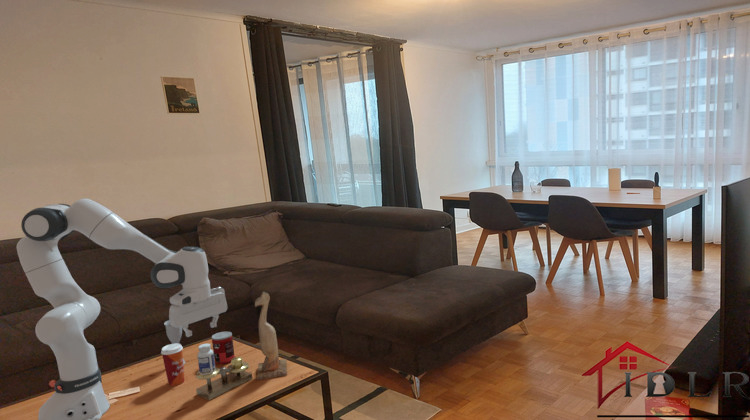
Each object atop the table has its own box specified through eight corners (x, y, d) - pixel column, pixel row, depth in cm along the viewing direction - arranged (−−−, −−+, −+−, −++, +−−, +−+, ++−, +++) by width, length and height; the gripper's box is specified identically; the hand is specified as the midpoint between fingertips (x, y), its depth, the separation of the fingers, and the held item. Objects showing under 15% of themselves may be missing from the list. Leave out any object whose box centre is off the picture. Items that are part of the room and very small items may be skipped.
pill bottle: (209, 367, 175) (205, 341, 174) (218, 370, 172) (215, 344, 171) (196, 373, 171) (192, 347, 169) (206, 376, 168) (202, 349, 166)
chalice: (169, 362, 202) (163, 321, 200) (187, 358, 205) (181, 317, 202) (170, 369, 195) (164, 326, 193) (188, 364, 198) (182, 322, 196)
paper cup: (179, 387, 179) (174, 351, 177) (161, 386, 181) (155, 351, 179) (191, 377, 187) (186, 342, 185) (173, 376, 188) (168, 342, 186)
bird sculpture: (256, 369, 190) (244, 290, 185) (286, 362, 193) (275, 285, 188) (257, 382, 179) (244, 299, 174) (289, 374, 182) (277, 293, 177)
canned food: (214, 358, 202) (211, 333, 200) (234, 354, 204) (231, 329, 203) (214, 366, 195) (211, 340, 193) (235, 362, 197) (232, 336, 196)
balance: (206, 401, 167) (203, 379, 166) (194, 395, 172) (191, 374, 171) (254, 377, 182) (252, 357, 181) (241, 372, 187) (239, 352, 186)
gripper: (218, 284, 177) (222, 320, 179) (164, 299, 162) (169, 339, 164) (228, 286, 173) (232, 323, 175) (174, 302, 158) (179, 343, 160)
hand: (201, 331), depth 169 cm, fingers open, 8 cm apart
